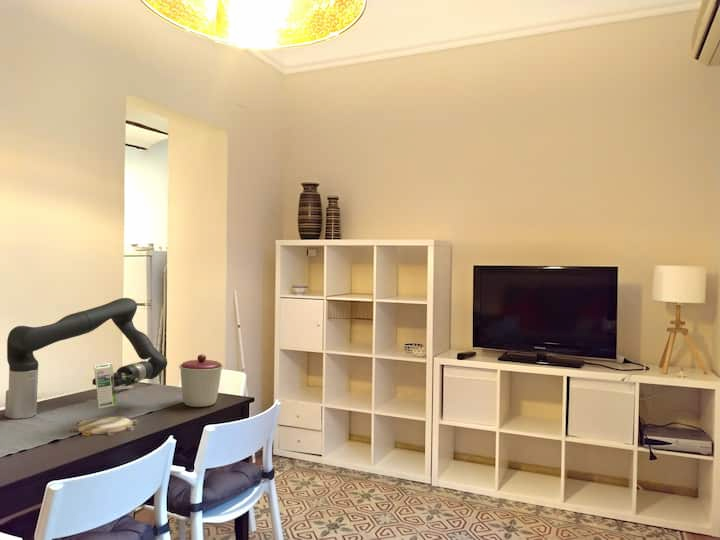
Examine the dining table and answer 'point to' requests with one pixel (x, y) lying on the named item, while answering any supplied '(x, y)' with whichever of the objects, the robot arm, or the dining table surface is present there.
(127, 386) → the caliper
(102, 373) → the syrup box
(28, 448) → the dining table surface
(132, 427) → the sprocket
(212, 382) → the canister
